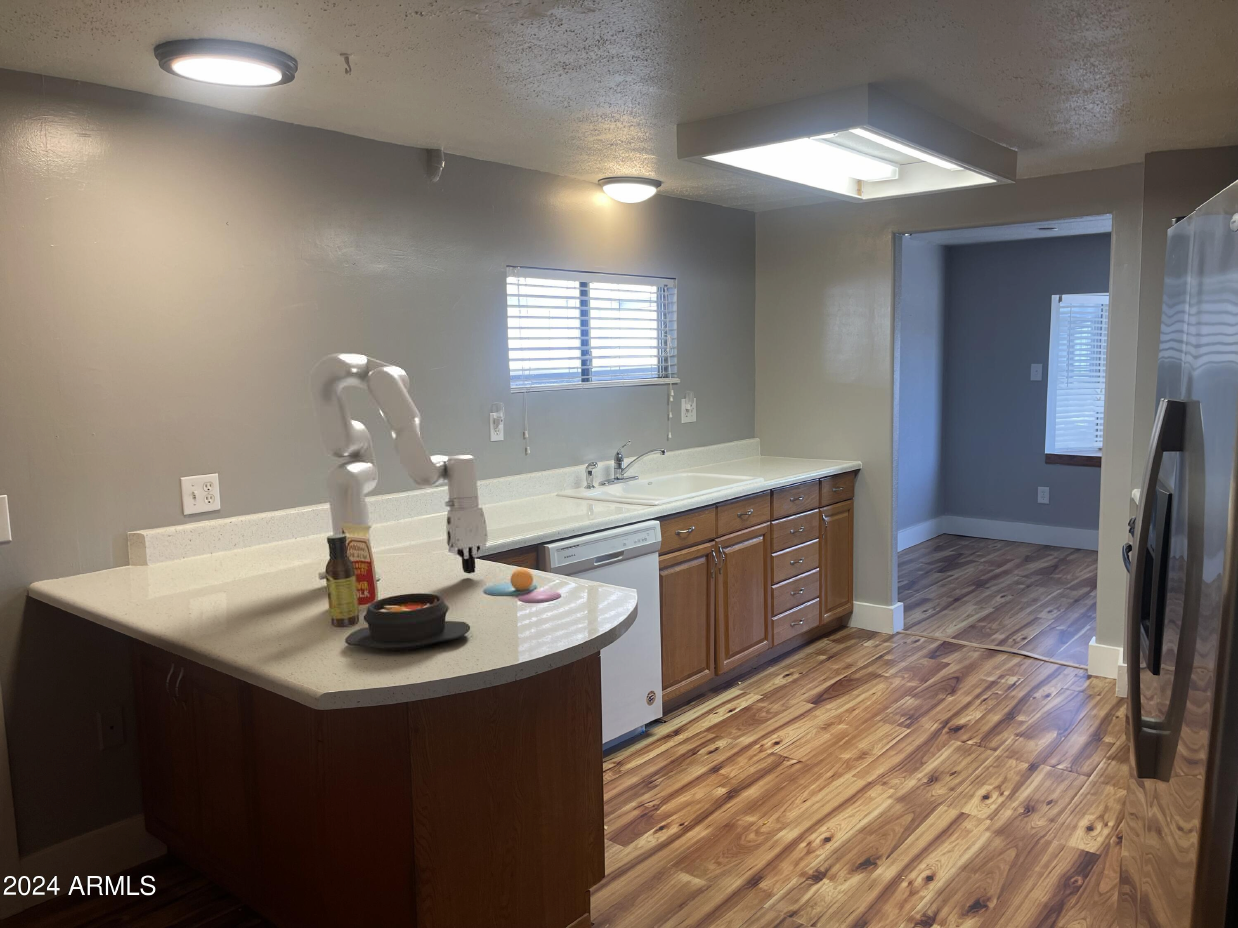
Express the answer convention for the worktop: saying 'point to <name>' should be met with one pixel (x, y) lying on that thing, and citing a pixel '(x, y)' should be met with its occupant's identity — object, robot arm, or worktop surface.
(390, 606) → the casserole
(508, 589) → the disc
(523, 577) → the ball
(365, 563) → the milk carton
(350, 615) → the sauce bottle
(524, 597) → the disc
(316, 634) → the worktop surface
